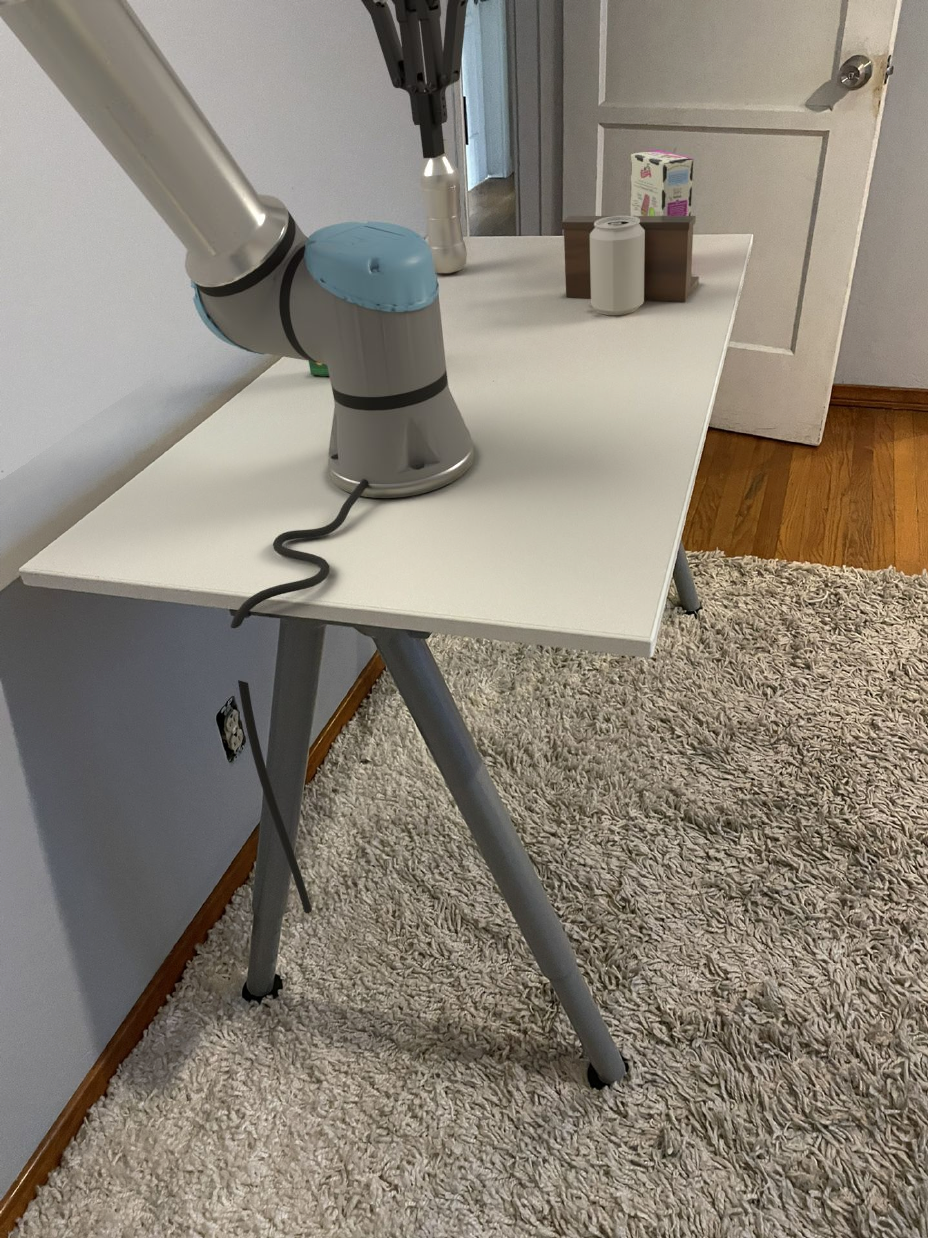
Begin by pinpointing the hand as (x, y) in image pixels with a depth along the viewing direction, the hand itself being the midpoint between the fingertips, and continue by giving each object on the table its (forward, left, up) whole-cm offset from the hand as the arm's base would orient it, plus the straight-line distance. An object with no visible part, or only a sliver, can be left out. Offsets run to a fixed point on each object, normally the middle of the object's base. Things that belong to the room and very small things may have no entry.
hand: (434, 155), depth 107 cm
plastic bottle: (+37, +19, -25) cm, 48 cm away
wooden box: (+30, -15, -24) cm, 41 cm away
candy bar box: (+41, -16, -25) cm, 50 cm away
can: (+22, -15, -25) cm, 36 cm away
